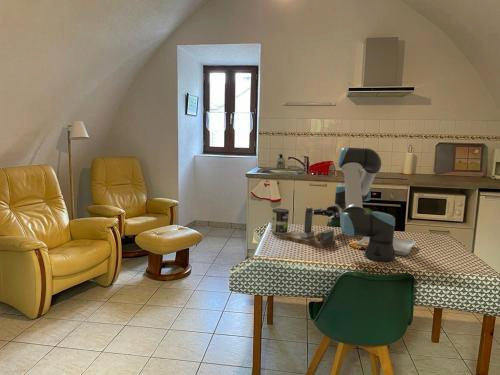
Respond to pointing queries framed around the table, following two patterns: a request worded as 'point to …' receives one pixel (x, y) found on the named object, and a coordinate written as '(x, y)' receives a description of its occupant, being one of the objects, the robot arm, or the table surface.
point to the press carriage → (308, 224)
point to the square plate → (394, 245)
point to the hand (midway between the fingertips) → (318, 217)
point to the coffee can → (280, 221)
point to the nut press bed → (312, 238)
